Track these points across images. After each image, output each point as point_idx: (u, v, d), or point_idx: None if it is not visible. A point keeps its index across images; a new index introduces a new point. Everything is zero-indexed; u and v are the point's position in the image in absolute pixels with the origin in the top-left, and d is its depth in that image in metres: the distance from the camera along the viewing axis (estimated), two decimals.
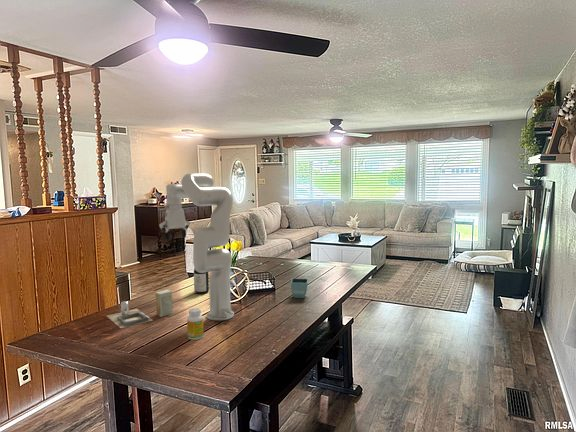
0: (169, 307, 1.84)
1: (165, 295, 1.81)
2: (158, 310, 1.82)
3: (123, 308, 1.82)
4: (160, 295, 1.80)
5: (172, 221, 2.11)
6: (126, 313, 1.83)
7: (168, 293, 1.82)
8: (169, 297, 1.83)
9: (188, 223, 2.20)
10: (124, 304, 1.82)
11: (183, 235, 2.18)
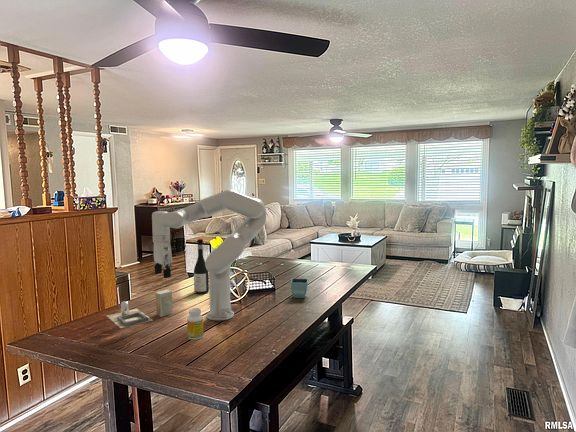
0: (169, 307, 1.84)
1: (165, 295, 1.81)
2: (158, 310, 1.82)
3: (123, 308, 1.82)
4: (160, 295, 1.80)
5: None
6: (126, 313, 1.83)
7: (168, 293, 1.82)
8: (169, 297, 1.83)
9: None
10: (124, 304, 1.82)
11: (159, 270, 1.86)
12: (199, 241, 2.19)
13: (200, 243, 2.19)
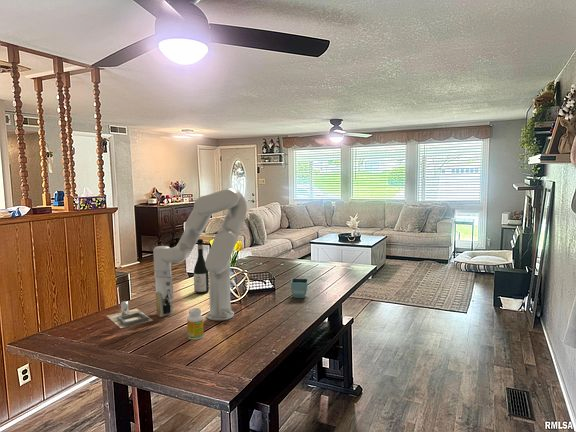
0: None
1: None
2: (158, 310, 1.82)
3: (123, 308, 1.82)
4: (160, 295, 1.80)
5: None
6: (126, 313, 1.83)
7: None
8: None
9: None
10: (124, 304, 1.82)
11: None
12: (199, 241, 2.19)
13: (200, 243, 2.19)
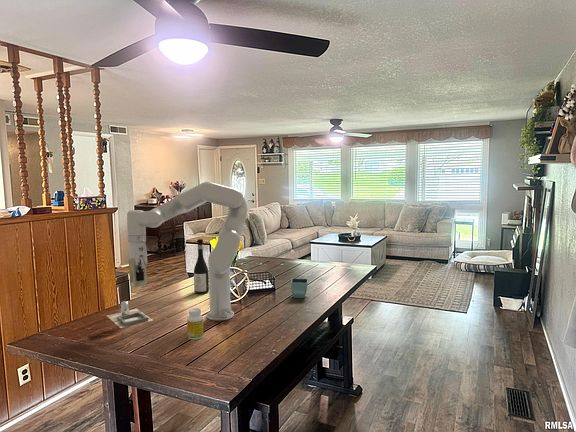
0: None
1: None
2: (131, 277, 1.74)
3: (123, 308, 1.82)
4: (133, 261, 1.72)
5: None
6: (126, 313, 1.83)
7: None
8: None
9: None
10: (124, 304, 1.82)
11: None
12: (199, 241, 2.19)
13: (200, 243, 2.19)
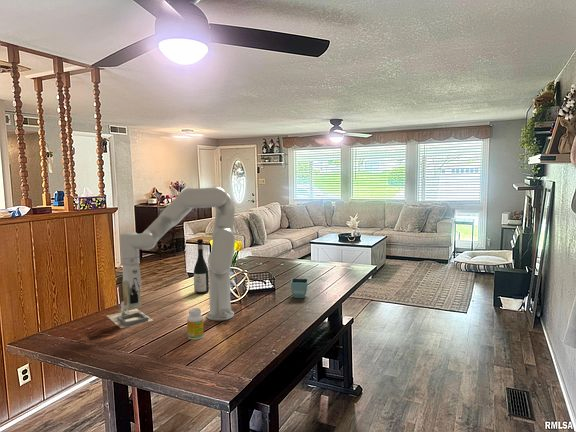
0: None
1: None
2: (125, 299, 1.73)
3: (123, 308, 1.82)
4: (127, 284, 1.71)
5: None
6: (126, 313, 1.83)
7: None
8: None
9: None
10: None
11: None
12: (199, 241, 2.19)
13: (200, 243, 2.19)
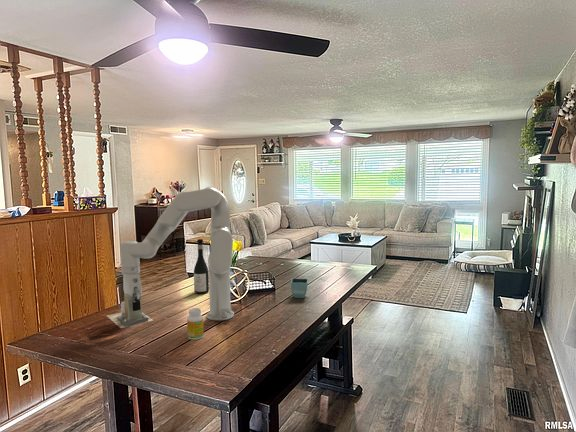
0: (138, 310, 1.75)
1: None
2: (126, 313, 1.74)
3: (123, 308, 1.82)
4: (127, 298, 1.71)
5: None
6: None
7: None
8: None
9: None
10: (124, 304, 1.82)
11: None
12: (199, 241, 2.19)
13: (200, 243, 2.19)
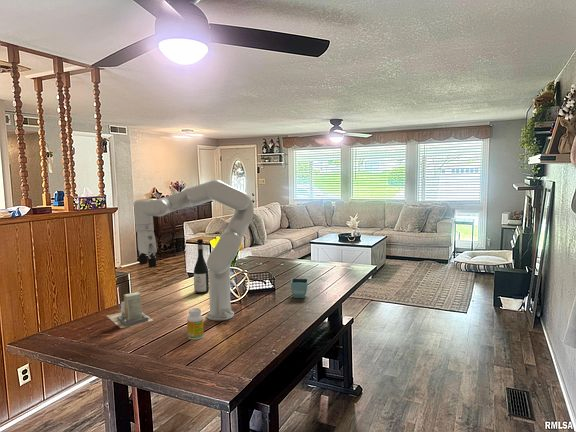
0: (138, 310, 1.75)
1: (133, 298, 1.73)
2: (126, 313, 1.74)
3: (123, 308, 1.82)
4: (127, 298, 1.71)
5: None
6: None
7: (136, 296, 1.74)
8: (138, 300, 1.74)
9: None
10: (124, 304, 1.82)
11: (144, 261, 1.82)
12: (199, 241, 2.19)
13: (200, 243, 2.19)
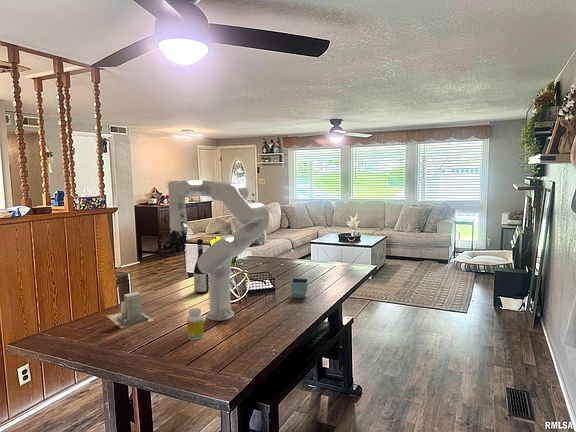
0: (138, 310, 1.75)
1: (133, 298, 1.73)
2: (126, 313, 1.74)
3: (123, 308, 1.82)
4: (127, 298, 1.71)
5: None
6: None
7: (136, 296, 1.74)
8: (138, 300, 1.74)
9: None
10: (124, 304, 1.82)
11: (175, 238, 1.94)
12: (199, 241, 2.19)
13: (200, 243, 2.19)
